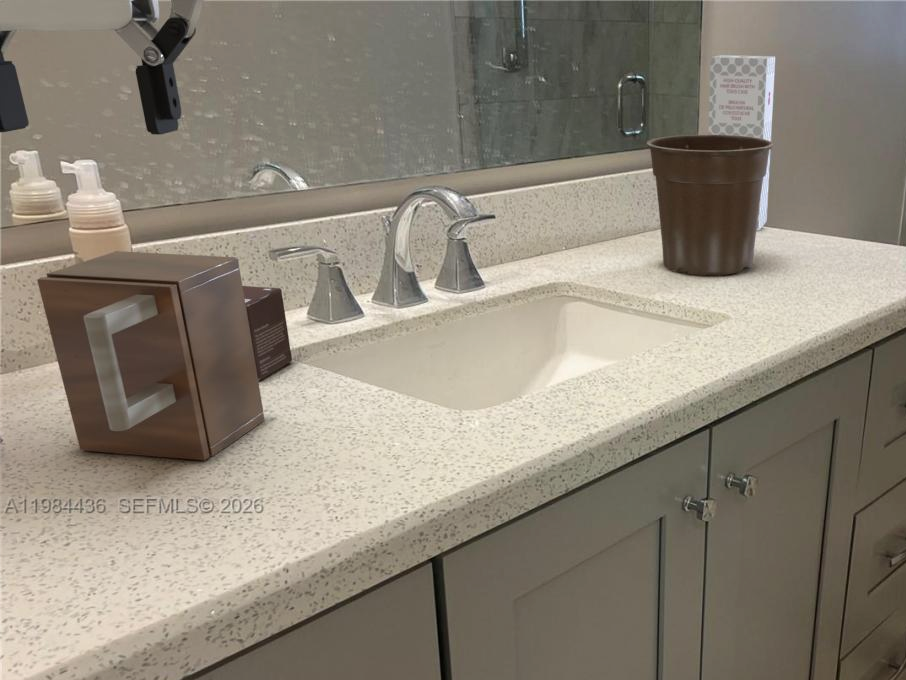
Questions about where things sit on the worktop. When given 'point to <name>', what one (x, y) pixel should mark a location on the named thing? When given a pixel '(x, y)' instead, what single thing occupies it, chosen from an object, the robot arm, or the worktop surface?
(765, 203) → the box
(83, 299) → the door
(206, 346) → the cabinet
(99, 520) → the worktop surface
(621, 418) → the worktop surface
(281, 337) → the box
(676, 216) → the plant pot
